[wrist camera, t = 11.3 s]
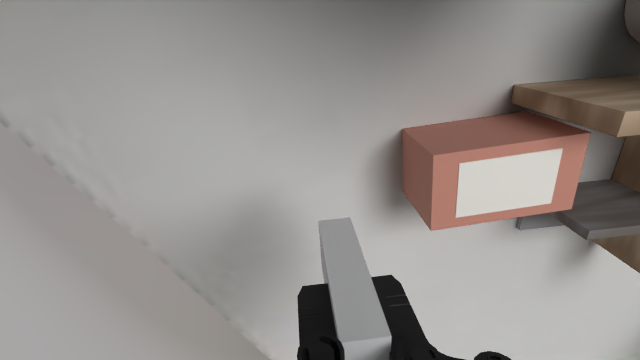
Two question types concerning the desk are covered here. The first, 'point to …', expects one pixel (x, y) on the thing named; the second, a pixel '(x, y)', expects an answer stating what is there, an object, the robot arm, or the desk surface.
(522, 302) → the desk surface
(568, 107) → the shelf
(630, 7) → the coffee cup
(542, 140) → the red box
